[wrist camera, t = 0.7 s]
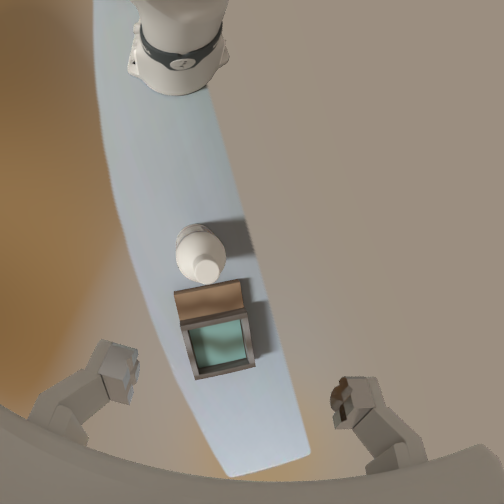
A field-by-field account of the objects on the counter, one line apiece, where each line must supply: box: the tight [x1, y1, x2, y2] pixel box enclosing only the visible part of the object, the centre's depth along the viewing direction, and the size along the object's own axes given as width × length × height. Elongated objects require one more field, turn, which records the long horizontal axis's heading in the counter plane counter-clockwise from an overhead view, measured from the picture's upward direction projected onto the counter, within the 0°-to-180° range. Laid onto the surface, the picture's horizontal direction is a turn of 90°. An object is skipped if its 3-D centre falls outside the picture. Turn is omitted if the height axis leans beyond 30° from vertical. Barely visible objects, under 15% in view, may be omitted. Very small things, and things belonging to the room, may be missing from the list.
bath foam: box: [176, 224, 226, 284], centre depth 41 cm, size 7×7×20 cm
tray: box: [174, 279, 256, 380], centre depth 53 cm, size 18×12×4 cm, turn 8°
